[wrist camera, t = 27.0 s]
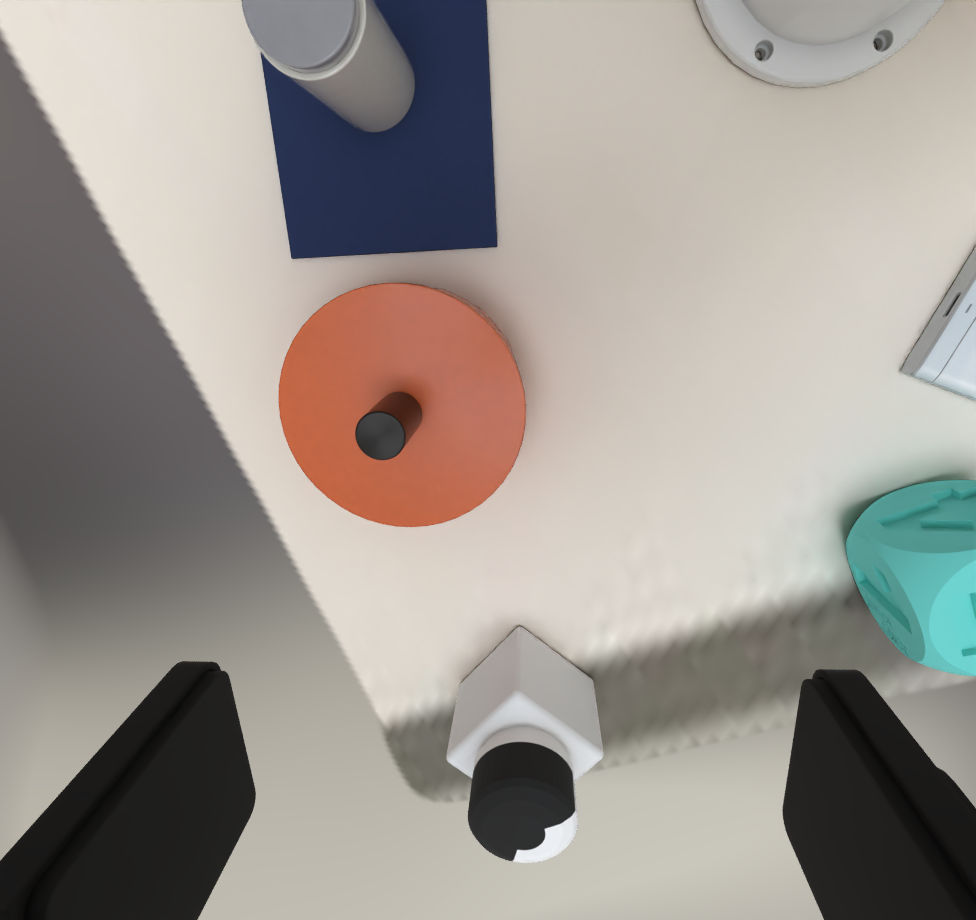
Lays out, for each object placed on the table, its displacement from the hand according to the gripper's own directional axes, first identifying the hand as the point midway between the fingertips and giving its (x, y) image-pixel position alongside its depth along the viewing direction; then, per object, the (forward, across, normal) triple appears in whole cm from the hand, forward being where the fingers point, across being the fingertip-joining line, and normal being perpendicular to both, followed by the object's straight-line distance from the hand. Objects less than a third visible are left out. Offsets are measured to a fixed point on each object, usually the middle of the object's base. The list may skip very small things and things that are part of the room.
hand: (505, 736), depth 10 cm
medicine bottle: (+28, +1, +22) cm, 35 cm away
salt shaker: (+27, +8, -16) cm, 33 cm away
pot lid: (+23, +7, 0) cm, 24 cm away
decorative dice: (+28, -24, +11) cm, 38 cm away
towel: (+28, +8, -17) cm, 33 cm away
